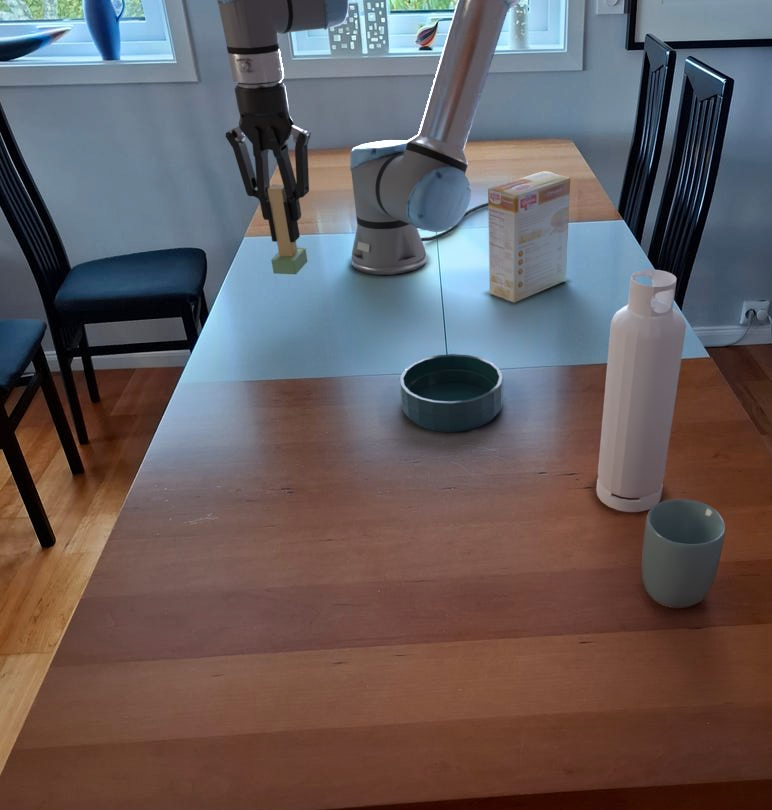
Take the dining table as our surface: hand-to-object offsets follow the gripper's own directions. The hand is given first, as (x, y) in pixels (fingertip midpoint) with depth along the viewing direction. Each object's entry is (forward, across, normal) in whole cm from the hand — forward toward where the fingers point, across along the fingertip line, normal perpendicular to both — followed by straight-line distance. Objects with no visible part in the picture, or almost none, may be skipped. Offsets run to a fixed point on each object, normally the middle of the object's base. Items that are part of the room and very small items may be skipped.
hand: (286, 238), depth 135 cm
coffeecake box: (+16, +39, +21) cm, 47 cm away
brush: (+5, 0, 0) cm, 5 cm away
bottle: (+15, +59, -44) cm, 75 cm away
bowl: (+15, +33, -26) cm, 45 cm away
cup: (+15, +64, -62) cm, 90 cm away
